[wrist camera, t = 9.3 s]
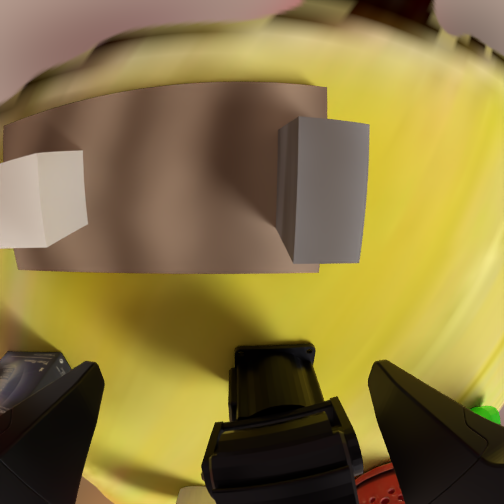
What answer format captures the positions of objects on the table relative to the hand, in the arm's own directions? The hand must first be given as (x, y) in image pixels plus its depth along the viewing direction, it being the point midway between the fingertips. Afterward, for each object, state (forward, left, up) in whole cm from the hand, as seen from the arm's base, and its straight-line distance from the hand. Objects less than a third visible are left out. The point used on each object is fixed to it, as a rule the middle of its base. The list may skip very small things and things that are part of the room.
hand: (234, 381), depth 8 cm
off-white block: (+13, -5, -11) cm, 17 cm away
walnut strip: (+7, -5, -12) cm, 15 cm away
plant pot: (-23, +41, -12) cm, 49 cm away
